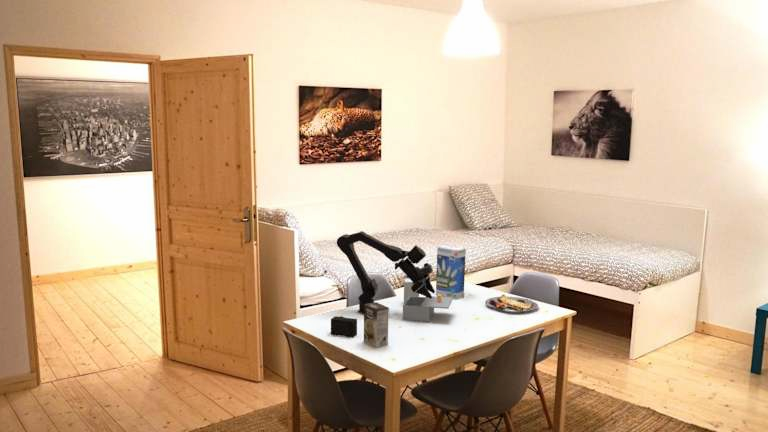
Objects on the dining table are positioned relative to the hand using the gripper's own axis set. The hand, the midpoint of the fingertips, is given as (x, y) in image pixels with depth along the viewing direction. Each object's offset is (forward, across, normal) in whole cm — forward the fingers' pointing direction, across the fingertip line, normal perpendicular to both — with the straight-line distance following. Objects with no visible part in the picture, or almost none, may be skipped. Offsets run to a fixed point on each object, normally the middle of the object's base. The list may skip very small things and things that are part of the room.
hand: (433, 295), depth 298 cm
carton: (+3, 0, +12) cm, 12 cm away
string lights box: (+10, +39, +5) cm, 40 cm away
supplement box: (-1, +17, +17) cm, 24 cm away
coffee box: (-4, -41, +20) cm, 45 cm away
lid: (+4, 0, +1) cm, 4 cm away
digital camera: (-15, -32, +31) cm, 47 cm away
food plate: (+32, +26, -17) cm, 45 cm away
